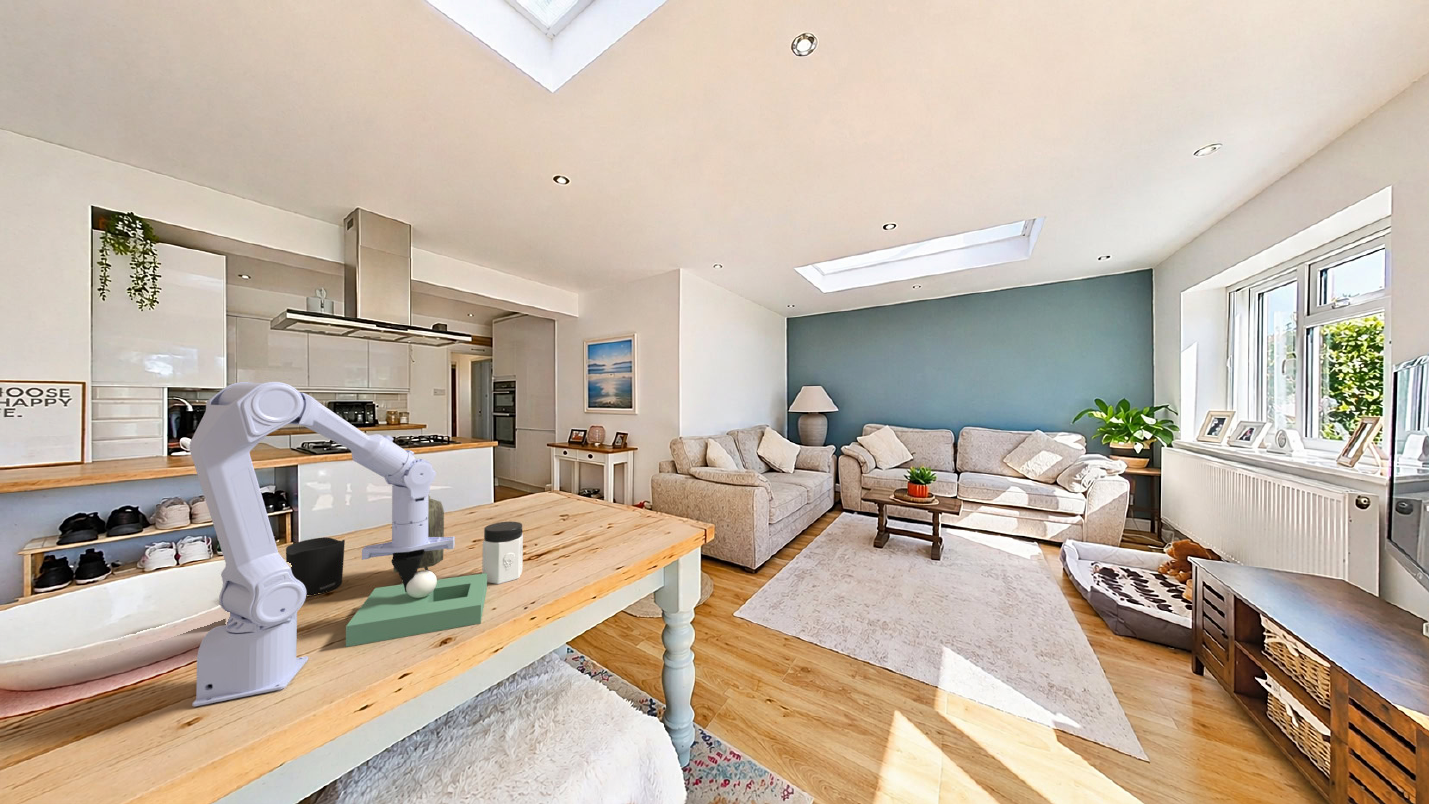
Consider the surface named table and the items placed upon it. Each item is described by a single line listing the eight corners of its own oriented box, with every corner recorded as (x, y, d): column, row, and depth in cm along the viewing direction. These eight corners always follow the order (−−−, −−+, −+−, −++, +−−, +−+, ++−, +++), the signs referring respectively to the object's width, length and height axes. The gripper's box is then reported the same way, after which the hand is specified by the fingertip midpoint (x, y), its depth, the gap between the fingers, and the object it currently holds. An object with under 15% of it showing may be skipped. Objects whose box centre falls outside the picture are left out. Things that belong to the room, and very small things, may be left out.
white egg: (399, 582, 80) (430, 570, 82) (404, 573, 84) (433, 562, 86) (408, 606, 80) (438, 594, 82) (412, 597, 85) (441, 585, 87)
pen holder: (279, 603, 87) (280, 553, 87) (292, 586, 95) (292, 541, 95) (340, 592, 92) (340, 546, 92) (347, 577, 100) (348, 534, 100)
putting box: (345, 647, 72) (346, 626, 72) (375, 605, 87) (375, 588, 87) (480, 623, 80) (480, 604, 80) (486, 588, 95) (487, 573, 95)
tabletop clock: (393, 573, 103) (395, 468, 103) (438, 564, 108) (439, 466, 108) (393, 595, 91) (395, 478, 91) (443, 585, 97) (445, 474, 97)
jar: (487, 587, 96) (488, 534, 95) (477, 576, 101) (477, 526, 101) (528, 576, 102) (529, 526, 102) (516, 566, 108) (516, 519, 108)
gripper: (456, 510, 89) (456, 575, 89) (370, 518, 83) (370, 587, 83) (452, 520, 83) (451, 589, 83) (357, 529, 77) (357, 604, 77)
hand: (410, 589), depth 83 cm, fingers closed, pressing on white egg
